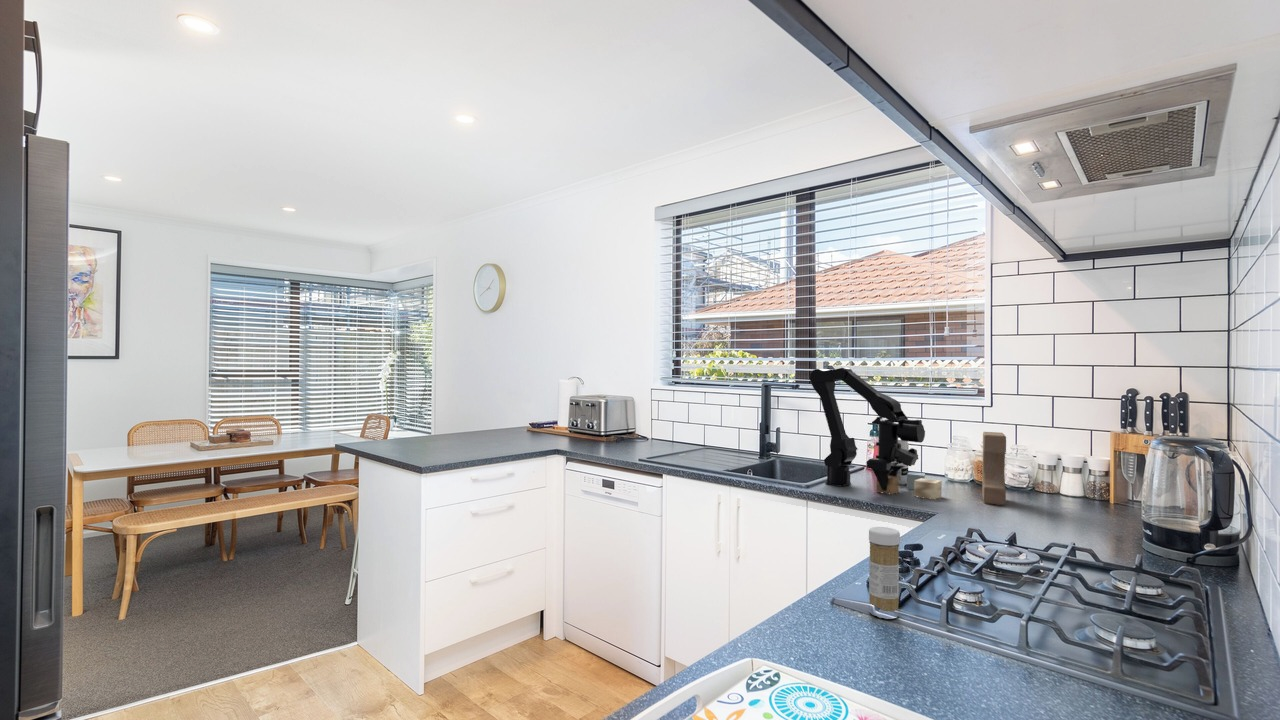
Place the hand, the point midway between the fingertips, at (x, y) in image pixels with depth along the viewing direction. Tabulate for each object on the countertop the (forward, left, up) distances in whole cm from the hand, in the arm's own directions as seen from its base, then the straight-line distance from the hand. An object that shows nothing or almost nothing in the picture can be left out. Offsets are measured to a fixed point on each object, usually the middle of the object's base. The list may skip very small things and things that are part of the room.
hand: (887, 489), depth 193 cm
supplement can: (-5, +19, -1) cm, 20 cm away
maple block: (+11, +3, -1) cm, 11 cm away
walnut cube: (0, 0, -1) cm, 1 cm away
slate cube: (+4, +13, -1) cm, 14 cm away
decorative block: (+27, +11, -1) cm, 29 cm away
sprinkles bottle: (+38, -97, -1) cm, 104 cm away
